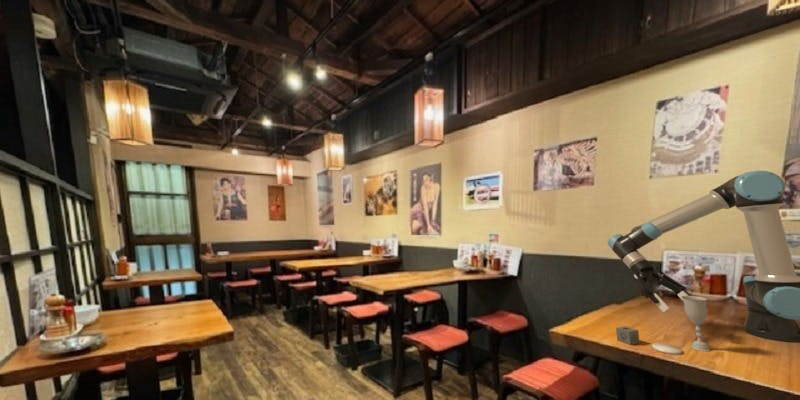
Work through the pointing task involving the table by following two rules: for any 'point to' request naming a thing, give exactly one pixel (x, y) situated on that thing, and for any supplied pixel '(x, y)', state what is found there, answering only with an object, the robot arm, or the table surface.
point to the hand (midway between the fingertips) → (681, 309)
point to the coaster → (667, 348)
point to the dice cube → (627, 335)
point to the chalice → (696, 317)
